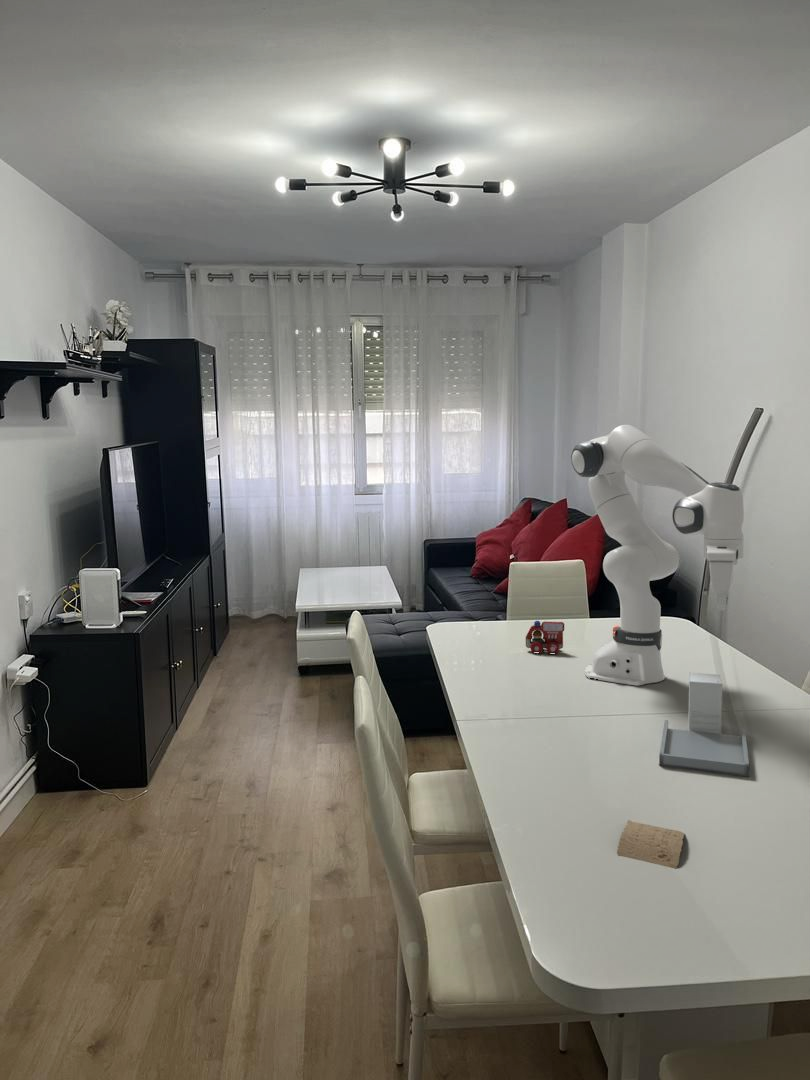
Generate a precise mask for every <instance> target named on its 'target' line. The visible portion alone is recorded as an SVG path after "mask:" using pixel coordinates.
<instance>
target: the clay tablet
mask: <svg viewBox="0 0 810 1080" xmlns="http://www.w3.org/2000/svg"><path fill="white" fill-rule="evenodd" d="M684 837H685V833H684V832H682V831H680V830H678V829H676V830H675V829H670V828H667V827H666V828H665V827H662V826H661V827H660V826H655V825H650V824H646V823H645V824H644V823H641V822H636V821H632V820H630V819H627V821H626V824H625V828H624V829H623V831H622V832H621V834H620V837H619V839H618V840H619V841H618V846H617V852H616V854H617V857H623V858H629V859H633V860H637V861H641V862H645V863H650V864H654V865H659V866H663V867H667V868H671V869H677V867H678V865H679V863H680V855H681V853H682V847H683V843H684V841H683V839H684Z"/></svg>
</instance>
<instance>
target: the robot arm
mask: <svg viewBox="0 0 810 1080" xmlns="http://www.w3.org/2000/svg"><path fill="white" fill-rule="evenodd" d="M570 458H571V464H572V467H573V469H574V471H575V473H576V474H577V475H578V476H580V477H582V478H589V479H588V482H587V483H588V490H589V495H590V498H591V500H592V504H593V506H594V509H595V511H596V513H597V515H598V517H599V519H600V522H601V524H602V526H603V528H604V529H603V530H604V531H605V533H606V534H607V536H608V537H610V538H612V539H613V540H615V541H617V543H619V544H620V545H621V546H619V547H616V548H614V549H612V550H610V551H609V552H607V553H606V555H605V556H604V559H603V562H602V570H603V573H604V576H605V577H606V578H607V580H608V581H609V582H610V583H612V584H613V586H614V587H615V589H616V592H617V595H618V599H619V606H620V610H619V611H620V625H614V626H613V627H612V640H610V641H609V642H607V643H606V644H605V645H603V646H602V647H600V648H599V649H597V650H596V652H595V654H594V655H593V660H592V663H590V664H588V665H587V666H586V667H585V670H584V676H585V675H586V676H587V677H588V679H590V678H594V679H593V680H596V679H598V681H603V682H604V681H606V682H609V683H618V684H624V685H629V686H643V685H645V684H646V685H647V684H654V683H658V682H662V681H663V680H665V679H666V678H665V673H664V669H663V663H662V656H661V653H662V652H661V650H662V645H663V635H662V634H663V631H662V628H661V613H662V612H661V611H662V610H661V608H662V607H661V603H660V601H659V600H658V599H657V598H656V597H655V596H653V594H652V591H651V587H650V581H657V580H661V579H664V578H666V577H668V576H670V575H673V574H674V573H675V572H676V571H677V570H678V568H679V565H680V555H679V552H678V550H677V549H676V547H674V546H673V545H672V544H671V543H668V542H667V541H665V540H663V538H661V537H660V536H659V535H658V534H657V533H656V532H655V531H654V530H653V529H652V527H650V525H649V524H648V523H647V521H646V520H645V519H644V517H643V515H642V513H641V512H640V509H639V507H638V506H637V504H636V501H635V500H634V497H633V495H632V493H631V491H630V490H629V487H628V486H627V483H626V481H625V475H627V476H628V477H629V478H630V479H631V480H633V481H635V482H636V483H638V484H641V485H644V486H651V487H660V488H666V489H670V490H674V491H677V492H679V493H681V494H682V495H684V496H685V497H682V498H680V499H679V500H677V502H676V503H675V505H674V506H673V509H672V518H671V519H672V523H673V526H674V527H675V529H676V530H677V531H678V532H679V533H680V534H684V535H689V536H690V535H691V536H694V535H695V536H697V535H703V557H704V558H706V561H708V562H709V563H708V565H709V576H710V584H711V591H712V593H713V594H716V602H717V604H716V605H717V606H716V607H717V611H719V612H720V611H721V612H724V611H726V609H727V606H726V605H728V603H729V593H730V590H731V588H732V585H733V583H734V566H737V565H738V560H739V559H743V558H744V533H743V528H742V527H743V524H744V520H745V519H744V516H745V515H744V512H745V510H744V497H743V493H742V490H741V488H740V487H739V486H738V485H736V484H733V483H728V482H708V481H707V480H706V479H704V478H703V477H702V476H700V475H699V474H698V473H697V472H696V471H694V470H693V469H692V468H690V467H689V466H687V465H685V464H684V463H683V462H681V461H679V460H678V459H676V458H675V457H674V456H673V455H670V454H669V453H668V452H667V451H665V450H664V449H663V448H661V446H660V445H658V444H657V443H656V442H655V441H654V440H653V439H652V438H651V437H650V436H649V435H647V434H645V433H644V432H643V431H642V430H640V429H638V428H637V427H635V426H633V425H632V424H621V425H618V426H617V427H615V428H614V429H612V431H611V432H610V433H609V434H605V435H602V436H599V437H595V438H593V439H590V440H584V441H582V442H580V443H578V444H577V445H575V446H574V447H573V449H572V452H571V456H570ZM586 676H585V677H586ZM587 677H586V678H587Z"/></svg>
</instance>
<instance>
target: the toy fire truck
mask: <svg viewBox="0 0 810 1080" xmlns="http://www.w3.org/2000/svg"><path fill="white" fill-rule="evenodd" d="M533 623H534V624H533V625H531V626H530V628H529V630H528V631H527V633H526V635H525V647H526V648H528V649H530V651H531V653H533V652H539V653H540V654H541V653H542V652H543V651H544V649H546V652H547V653H548V654H549V653H557V654H558V653H559V652H560V650H561V649H562V648H564V631H565V622H563V621H542V623H541V621H539V620H535V621H534V622H533Z"/></svg>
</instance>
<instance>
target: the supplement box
mask: <svg viewBox="0 0 810 1080" xmlns="http://www.w3.org/2000/svg"><path fill="white" fill-rule="evenodd" d="M688 674H689V675H688V715H687V716H688V717H687V719H688V720H687V721H688V731H696V732H705V733H715V734H722V715H723V714H722V710H723V708H722V707H723V681H722V677H721V674H718V673H717V674H714V673H701V672H689V673H688Z"/></svg>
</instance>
